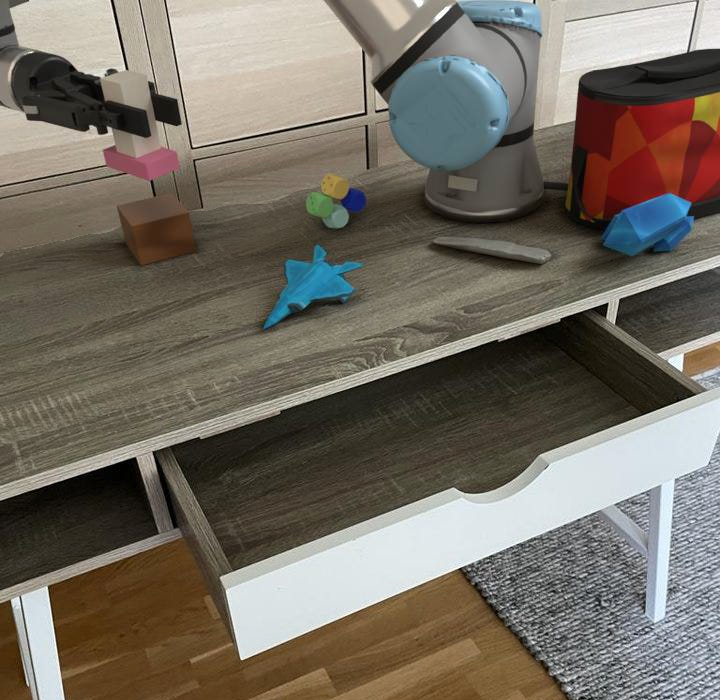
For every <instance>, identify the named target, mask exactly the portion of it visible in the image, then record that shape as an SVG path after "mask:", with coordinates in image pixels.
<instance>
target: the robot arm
mask: <svg viewBox="0 0 720 700" xmlns="http://www.w3.org/2000/svg"><path fill="white" fill-rule="evenodd" d="M323 1H324V3H325V4H326V6H328V8H329V9H330V10H331V12H332V13H333V14H334V15H335V17H336V18H337V19H338V20H339V22H340V23H341V24H342V25H343V27H344V28H345V29H346V30H347V32H348V33H349V34H350V36H351V37H352V38H353V39H354V40H355V41H356V43H357V44H358V45H359V47H360V48H361V49H362V50H363V52H364V53H365V54H366V56H367V57H368V59H370V82H369V83H370V84H371V86H372V87H373V88H374V89H375V91H376V92H377V93H378V94H379V96H380V97H381V98H382V99H383V101H384V102H385V103H386V104H387V110H388V111H387V112H388V118H389V119H388V125H389V129H390V133H391V134H392V137H393V139H394V141H395V142H396V144H397V146H398V147H399V148H400V150H401V151H402V152H403V153H404V154H405V155H406V156H407V157H408V158H410V159H411V160H412V161H414V162H416V163H417V164H418V165H420V166H423V167H425V168H428V169H429V171H428V174H427V177H426V180H425V186H424V202H425V204H426V206H427V207H428V209H429V210H431V211H433V212H434V213H436V214H438V215H440V216H441V217H444V218H447V219H451V220H454V221H459V222H466V223H497V222H498V223H499V222H506V221H511V220H516V219H519V218H522V217H524V216H527V215H529V214H531V213H533V212H535V211H536V210H537V209H538V208H540V206H541V205H542V203H543V200H544V194H545V190H551V191H563V192H568V185H569V182H559V181H548V180H547V181H546V180H544V177H543V173H542V168H541V165H540V161H539V157H538V152H537V149H536V143H535V140H534V133H535V132H534V131H535V120H536V119H535V118H536V105H537V93H538V92H537V91H538V80H539V79H538V78H539V64H540V54H541V53H540V52H541V39H542V37H543V34H544V31H543V29H542V11H541V9H540V8H539V6H538V5H537V4H535V3H533V2H529V1H522V0H458V1H457V0H323ZM28 2H30V1H29V0H0V107H3V108H7V109H10V110H13V111H16V112H20V113H23V114H24V115H25V119H26V120H27V121H28V122H42V123H45V124H46V123H47V124H51V125H54V126H58V127H62V128H65V129H69V130H73V131H77V132H83V133H86V132H88V131H90V130H91V129H90V126H93V127H94V128H95V129H96V133H97V135H98V136H104V135H107V134H109V128H111V129H112V128H114V129H117V130H120V131H124V132H127V133H130V134H134V135H137V136H140V137H144V138H148V137H151V131H150V126H149V121H148V117H147V112H146V110H143V109H140V108H136V107H132V106H129V105H125V104H121V103H117V102H114V101H110V100H108V101H105V98H104V94H103V90H102V85H101V81H100V78H102V77H101V76H98V75H94V74H91V73H85V72H83V71H79V70H78V69H77V68H76V67H75V66H74V64H73V63H72V62H71V61H70V60H68V59H67V58H65V57H63V56H61V55H59V54H55V53H50V52H46V51H42V50H39V49H36V48H31V47H26V46H22V45H20V43H19V40H18V36H17V33H16V26H15V23H14V20H13V16H12V13H11V9H12V8H16V7H18V6H21V5H23V4H25V3H28ZM105 71H106V72H104V74H103V75H104V77H106V76H109V75H112V74H115V73H118V72H119V71H118V69H116V68H114V67H113V68H112V67H111V68H108V69H106V70H105ZM147 81H148V86H149V91H150V96H151V101H152V106H153V111H154V116H155V121H156V122H158V123H159V122H160V123H163V124H166V125H170V126H174V127H179V126H182V125H183V122H182V118H181V112H180V106H179V102H178V101H179V100H178V98H176V97H171V96H167V95H163V94H158V93H157V90H156V86H155V82H153V81H150V80H147Z"/></svg>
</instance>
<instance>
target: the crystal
mask: <svg viewBox="0 0 720 700" xmlns="http://www.w3.org/2000/svg"><path fill="white" fill-rule="evenodd" d="M690 206H691V202H689V201H686V200H684V199H682V198H680V197H678V196H675V195H673V194H671V193H667V194H665V195H662V196H659V197H657V198H654V199H651V200H648V201H646V202H643V203H640V204H638V205H635V206H632V207H630V208H627V209H624V210H622V211H621V213H620V214H617V215H615V216H614V217H613V219H612V221H611V222H610V224H609V225H608V227H607V229H604V232H603V234H602V235H601V237H600V240H604V242H603V243H602V245H603V246H604V247H606V248H608V249H612V250H614V251H617V252H620V253H622V254H625V255H628V256H630V257H634V256H635V255H637V254H639V253H641V252H642V251H644V250H645V249H648V248H649V247H651V246H652V245H654V246H653V251H652V252H656V253H657V252H672V251H673V249H675V247H677V246H678V244H680V242H681V241H683V239H685V238H686V237H687V235H688V234H689V233H690V232H692V230H693V223H694V216H687V213H688V211H689V208H690Z"/></svg>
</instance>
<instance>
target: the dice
mask: <svg viewBox="0 0 720 700" xmlns="http://www.w3.org/2000/svg"><path fill="white" fill-rule="evenodd" d="M320 188H321V192H317V191H313V192H310V194H309V195H308V196H307V198H306V201H305V208H306V210H307V212H308V213H309V214H310V215H313V216H316V217H319V218H321V219H322V222H323V224H324V225H325V227H327V228H330V229H336V230H337V229H341V228H344V227H345V226H346V225H348V222H349V219H350V216H349V212H348V211H351V212H355V213H356V212H357V213H359V212H361V211H362V210H364V208H365V207H366V205H367V197H366V195H365V192H364V191H362V190H359V189H356V188H353V187H352V188H351V187H350V185H349V181H348V179H346V178H344V177H343V176H339V175H336V174H333V173H327V174H326V175H325V176H324V177H323V178H322V181H321V184H320ZM333 199H336V200H339V201H340V204H335V203H334V200H333Z"/></svg>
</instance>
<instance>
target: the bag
mask: <svg viewBox="0 0 720 700" xmlns="http://www.w3.org/2000/svg"><path fill="white" fill-rule="evenodd" d="M577 85H578V86H577V87H578V88H577V97H576V105H575V118H574V121H575V122H574V132H573V142H572V151H571V161H570V171H569V179H568V183H569V185H568V191H567V194H566V199H565V205H564V211H565V213H566V215H567V216H568V217H569V218H570V219H572V220H573V221H575V222H576V223H579V224H581V225H584V226H587V227H590V228H594V229H601V230H606V229H607V227H608V225H609V224H610V222H611V221H612V219H613V217H614V216H615V215H617V214H620V213H621V211H622V210H624V209H627V208H630V207H632V206H635V205H638V204H640V203H643V202H646V201H648V200H651V199H654V198H657V197H659V196H662V195H665V194H667V193H671V194H673V195H675V196H678V197H680V198H682V199H684V200H686V201H689V202H691V206H690V208H689V211H688V213H687V216H694V219H695V220H696V219H698V218H702V217H707V216H710V215H713V214H717V213H720V48H702V49H695V50H691V51H687V52H683V53H679V54H674V55H669V56H665V57H661V58H657V59H656V58H655V59H652V60H646V61H640V62H636V63H631V64H626V65H625V64H624V65H618V66H614V67H608V68H599V69H593V70H590V71H587V72H585V73H583V74H582V75H581V76H580V77H579V79H578V84H577ZM694 219H693V220H694Z"/></svg>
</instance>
